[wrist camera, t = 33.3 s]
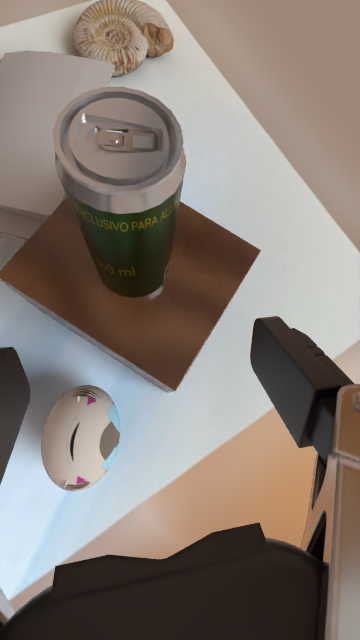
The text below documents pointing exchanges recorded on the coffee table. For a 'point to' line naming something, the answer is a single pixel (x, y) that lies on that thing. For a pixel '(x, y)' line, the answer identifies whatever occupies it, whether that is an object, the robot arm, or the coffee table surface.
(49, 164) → the white stadium model
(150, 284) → the beer can
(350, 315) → the coffee table surface
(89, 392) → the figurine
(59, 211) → the lid
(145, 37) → the fossil
